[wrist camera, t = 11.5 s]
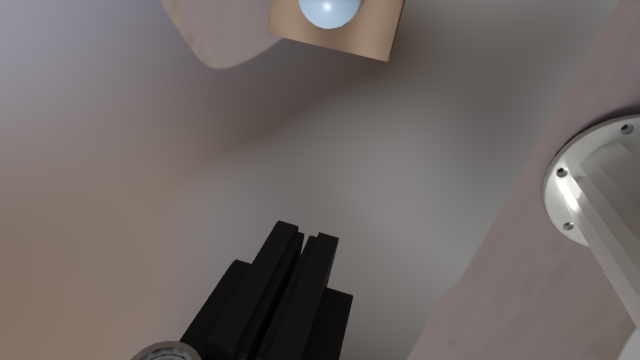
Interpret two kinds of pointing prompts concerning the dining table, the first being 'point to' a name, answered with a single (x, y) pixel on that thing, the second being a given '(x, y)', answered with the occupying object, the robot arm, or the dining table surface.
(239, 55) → the dining table surface
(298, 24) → the button panel
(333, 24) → the slate blue button
